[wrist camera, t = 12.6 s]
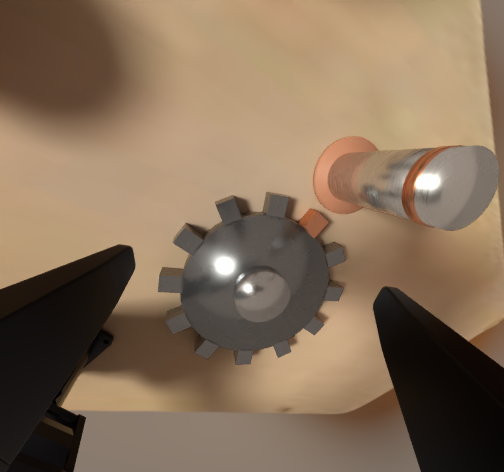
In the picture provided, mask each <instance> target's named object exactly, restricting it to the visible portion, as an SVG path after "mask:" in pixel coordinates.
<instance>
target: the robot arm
mask: <svg viewBox="0 0 504 472" xmlns="http://www.w3.org/2000/svg"><path fill="white" fill-rule="evenodd" d="M134 270H135V259H134V253H133V249H132V247H131V246H128V245H121V244H119V245H116V246H113V247H111V248H108V249H105V250H103V251H100V252H97V253H95V254H92V255H90V256H87V257H84V258H82V259H79V260H76V261H74V262H71V263H69V264H66V265H63V266H61V267H58V268H55V269H53V270H50V271H47V272H45V273H42V274H40V275H37V276H34V277H32V278H29V279H26V280H24V281H21V282H19V283H16V284H13V285H11V286H8V287H5V288H3V289H0V472H73V471H74V467H75V462H76V458H77V453H78V449H79V445H80V441H81V436H82V432H83V428H84V424H85V419H86V417H84V416H82V415H80V414H79V415H76V414H74V413H72V412H70V411H68V410H66V409H64V408H62V407H61V406H62V404H63V402H64V400H65V399H66V397H67V395H68V394H69V392H70V390H71V388H72V387H73V385H74V383H75V381H76V380H77V378H78V376H79V374H80V373H81V371H82V369H83V368H84V367H85V366H86V365H88V364H89V363H90V362H91V361H92V360H93V359H95V358H96V357H97V356H98V355H99V354H100V353H102V352H103V351H104V350H105V349H106V348H107V347H109V346H110V345H111V344H112V342H113V340H114V338H113V336H112V335H110V334H109V333H107V332H106V331H104V330H103V329H101V328H102V326H103V325H104V323H105V322H106V320H107V319H108V317H109V316H110V314H111V313H112V311H113V309H114V308H115V306H116V304H117V303H118V301H119V299H120V297H121V295H122V293H123V291H124V289H125V287H126V285H127V284H128V282H129V280H130V278H131V276H132V274H133V272H134ZM373 310H374V315H375V320H376V324H377V329H378V334H379V339H380V344H381V348H382V351H383V355H384V358H385V361H386V364H387V368H388V371H389V374H390V377H391V380H392V383H393V386H394V389H395V392H396V396H397V399H398V402H399V405H400V408H401V411H402V414H403V417H404V420H405V424H406V427H407V430H408V433H409V436H410V439H411V442H412V445H413V449H414V452H415V454H416V458H417V461H418V464H419V467H420V470H421V472H504V368H503V367H501V366H500V365H499V364H498V363H496V362H495V361H494V360H492V359H491V358H490V357H488V356H487V355H486V354H484V353H483V352H482V351H480V350H479V349H478V348H476V347H475V346H474V345H472V344H471V343H470V342H468V341H467V340H466V339H464V338H463V337H462V336H460V335H459V334H458V333H456V332H455V331H454V330H452V329H451V328H450V327H448V326H447V325H446V324H444V323H443V322H442V321H440V320H439V319H438V318H436V317H435V316H434V315H432V314H431V313H430V312H428V311H427V310H426V309H424V308H423V307H422V306H420V305H419V304H418V303H416V302H415V301H414V300H412V299H411V298H410V297H408V296H407V295H406V294H404V293H403V292H402V291H400V290H399V289H397V288H394V287H387V286H385V287H383V288H382V289H381V291H380V293H379V294H378V296H377V298H376V299H375V301H374V304H373ZM106 340H109V341H106Z"/></svg>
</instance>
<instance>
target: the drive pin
mask: <svg viewBox="0 0 504 472" xmlns="http://www.w3.org/2000/svg"><path fill="white" fill-rule="evenodd" d="M498 181H499V165H498V161H497V158H496V156H495V155H494V153H493V152H492V151H491V150H489V149H488V148H486V147H483V146H461V145H459V146H443V147H437V148H423V149H404V150H386V151H368V152H350V153H346V154H343V155H342V156H340V157H339V158H337V159H336V160H335V162H334V163H333V164H332V166H331V168H330V170H329V173H328V188H329V190H330V192H331V194H332V195H333V196H334V197H335V198H337V199H338V200H341V201H345V202H348V203H352V204H355V205H359V206H362V207H366V208H369V209H373V210H376V211H380V212H383V213H387V214H390V215H394V216H397V217H401V218H404V219H408V220H411V221H414V222H416V223H419V224H422V225H426V226H429V227H434V228H439V229H443V230H447V231H453V230H458V229H462V228H464V227H466V226H468V225H470V224H471V223H472V222H474V221H475V220H476V219H477V218H478V217H479V216H480V215H481V214H482V213H483V212H484V211H485V210H486V208H487V207H488V205H489V204H490V202H491V200H492V198H493V196H494V194H495V192H496V189H497V185H498Z"/></svg>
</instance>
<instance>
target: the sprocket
mask: <svg viewBox="0 0 504 472" xmlns="http://www.w3.org/2000/svg"><path fill="white" fill-rule="evenodd" d="M288 199H289V197H287V196H285V195H281V194H275V193H270V192H266V197H265V202H264V207H263V212H252V213H245V214H240V212H239V209H238V206H237V204H236V201H235V198H234V197H233V196H229V197H227V198H224V199H221V200H219V201H216V202H215V204H216V207H217V209H218V212H219V214H220V216H221V219H222V222H221V223H219V224H217V225H215V226H214V227H213V228H211V229H210V230H209V231H207V232H206V233H205V234H204V235H202V234H201V233H199V232H198V231H197V230H195V229H194V228H192V227H191V226H189V225H188V224H187V223H186V224H185V225H184V226H183V227H182V229H181V230H180V231H179V232H178V234H177V235H176V236H175V238H174V241H173V243H174V244H175V245H177V246H178V247H180V248H182V249H183V250H185V251H186V252H188V253H189V256H188V258H187V260H186V263H185V266H184V269H176V268H163V267H162V270H161V272H160V275H159V287H158V292H169V293H181V303H182V305H181V306H179V307H177V308H174V309H172V310H169V311H167V315H166V319H165V322H166V324H167V326H168V327H169V329H170V330H171V332H172V334H175V333H177V332H179V331H182V330H184V329H186V328H189V327H191V326H192V327H193V328H194V330H195V331H196V332H197V333H198V334H200V336H199V337H198V339H197V340H196V341H195V350H194V353H196V354H198V355H200V356H202V357H204V358H206V359H208V358H209V357H210V356H211V355H212V354H213V352H214V351H215V350H216V349H217V348H218V347H219V346H220V347H223V348H227V349H231V350H234V359H235V365H243V364H250V363H251V359H252V354H253V350H260V349H264V348H268V347H271V346H273V347H274V349H275V351H276V354H277V356H278V358H279V357H281V356H283V355H285V354H288V353H290V352H291V349H290V347H289V344H288V341H287V339H289V338H291V337H292V336H294V335H295V334H297V333H298V332H299V331H301V330H302V329H303V328H304V329H306V330H307V331H309V332H310V333H312V334H313V335H315V334H316V333H317V332H318V331H319V330H320V329H321V328H322V327H323V326H324V324H323V322H322V321H321V320H320V318H319V317H318V316H317V315H316V313H317V312H318V310H319V308H320V306H321V305H322V302H323V300H325V301H339V299H340V296H341V293H342V290H343V287H342V286H341V285H340V284H338V283H337V282H336V281H331V280H329V268H330V267H332V266H334V265H337V264H339V263H341V262H344V261H345V257H344V252H343V247H342V246H340V245H338V244H337V243H335V242H333V243H330V244H328V245H325V246H323V247H322V246H321V245H320V243H319V241H318V240H317V239H316V238H315V237H316V236H317V235H318V234H319V233H320V232H321V231H322V230H323V228H324V227H325V226H326V225H327V224H328V223H329V222H328V221H327V220H326V219H325V218H324V217H323V216H322V215H321V214H320V213H319V212H318V211H315V210H313V209H311V208H310V209H309V211H308V212H307V213H306V214H305V215H304V216H303V217H302V219H301V220H300V221H299V222H298V223H296V222H295V221H293V220H292V219H289V218H287V217H285V212H286V208H287V204H288Z"/></svg>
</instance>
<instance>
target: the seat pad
mask: <svg viewBox="0 0 504 472" xmlns="http://www.w3.org/2000/svg"><path fill="white" fill-rule="evenodd" d="M368 151H378V149H377V148H376V147H375V145H374V144H373V143H371V142H370V141H369V140H367V139H365V138H362V137H355V136H354V137H346V138H342V139H340V140H338V141H336V142H334V143H333V144H331V145H330V146H329V147H328V148H327V149H326V150H325V151H324V152H323V154H322V155H321V157H320V158H319V160H318V162H317V165H316V168H315V172H314V190H315V194H316V196H317V198H318V200H319V202H320V203H321V204H322V205H323V206H324V207H325V208H327V209H328V210H330V211H332V212H335V213H339V214H348V213H352V212H355V211H357V210H359V209H361V208H363V207H362V206H359V205H355V204H352V203H348V202H345V201H341V200H338V199H337V198H335V197H334V196H333V195H332V194H331V192H330V190H329V188H328V173H329V170H330V168H331V166H332V164H333V163H334V162H335V160H336V159H337V158H339V157H340V156H342V155H343V154H346V153H350V152H368Z"/></svg>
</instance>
